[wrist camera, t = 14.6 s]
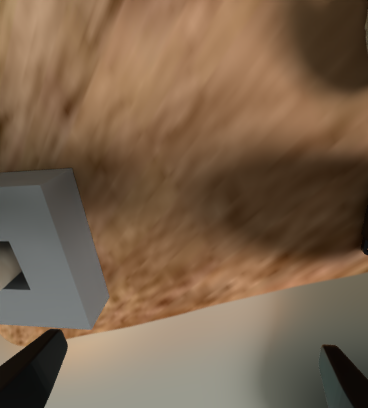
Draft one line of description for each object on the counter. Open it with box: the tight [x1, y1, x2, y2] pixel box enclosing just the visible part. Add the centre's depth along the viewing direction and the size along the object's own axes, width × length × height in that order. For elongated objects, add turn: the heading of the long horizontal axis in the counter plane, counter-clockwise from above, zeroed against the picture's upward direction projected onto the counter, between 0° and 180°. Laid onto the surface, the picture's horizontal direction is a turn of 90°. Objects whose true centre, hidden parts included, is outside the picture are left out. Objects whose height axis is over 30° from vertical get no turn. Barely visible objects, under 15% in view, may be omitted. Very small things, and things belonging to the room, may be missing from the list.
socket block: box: [0, 168, 109, 330], centre depth 23 cm, size 14×14×4 cm
